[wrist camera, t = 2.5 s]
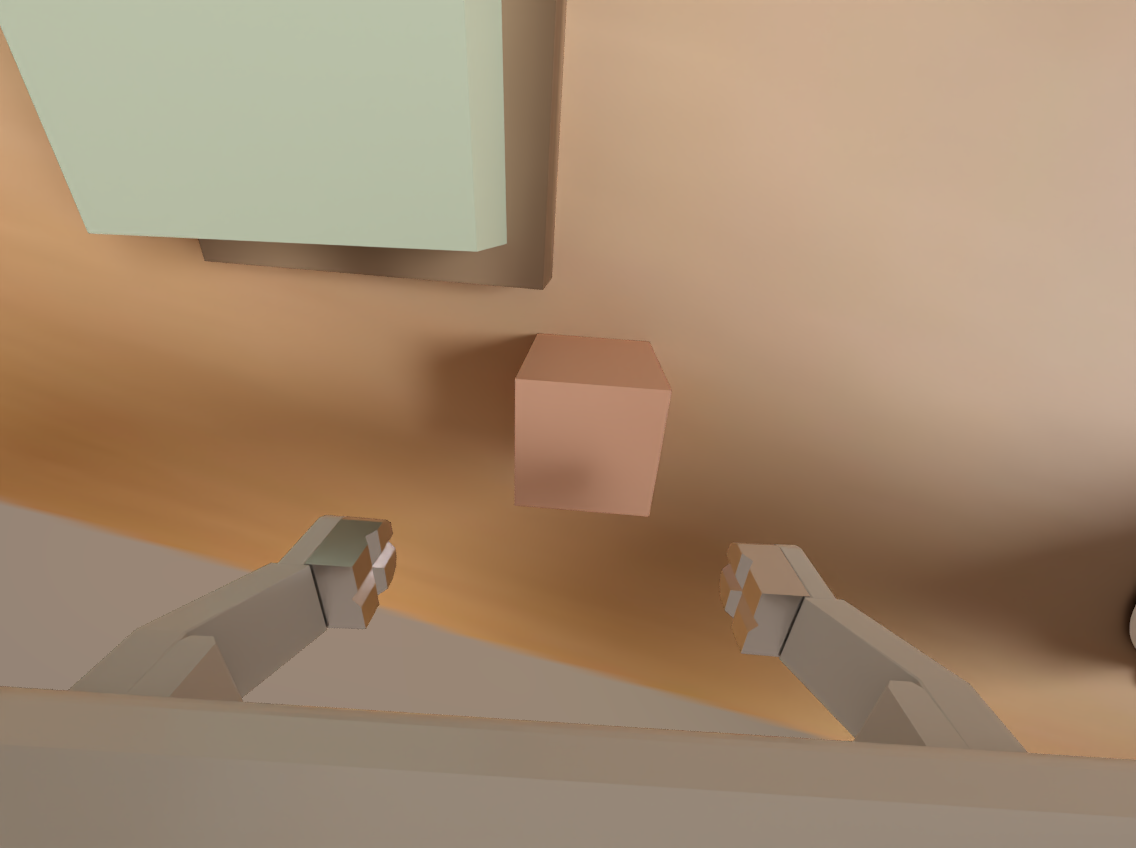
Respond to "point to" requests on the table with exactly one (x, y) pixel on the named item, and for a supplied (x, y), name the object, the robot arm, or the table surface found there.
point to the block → (589, 424)
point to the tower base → (529, 178)
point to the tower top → (274, 117)
